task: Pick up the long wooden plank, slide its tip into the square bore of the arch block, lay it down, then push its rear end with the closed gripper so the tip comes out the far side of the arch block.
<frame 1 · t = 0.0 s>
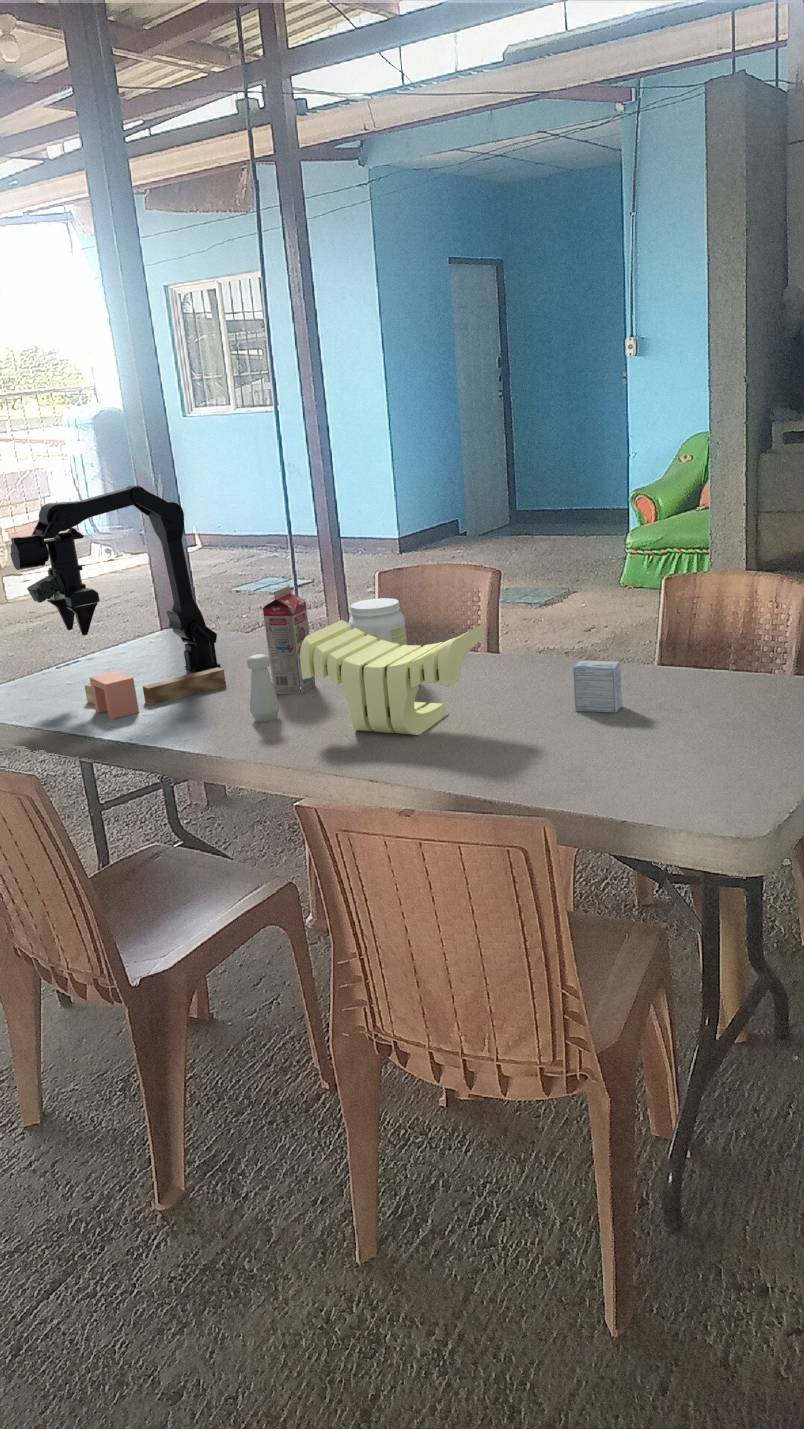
hand: (77, 632, 237), 15 cm above the table, fingers open, 9 cm apart
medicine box: (598, 710, 199), on the table
slatted curved stool: (399, 725, 201), on the table
wooden plank: (186, 695, 236), on the table
salt shaker: (266, 720, 212), on the table
juice carton: (295, 690, 231), on the table
arch block: (117, 711, 227), on the table
supplement tub: (382, 681, 232), on the table
wooden cube: (100, 701, 237), on the table
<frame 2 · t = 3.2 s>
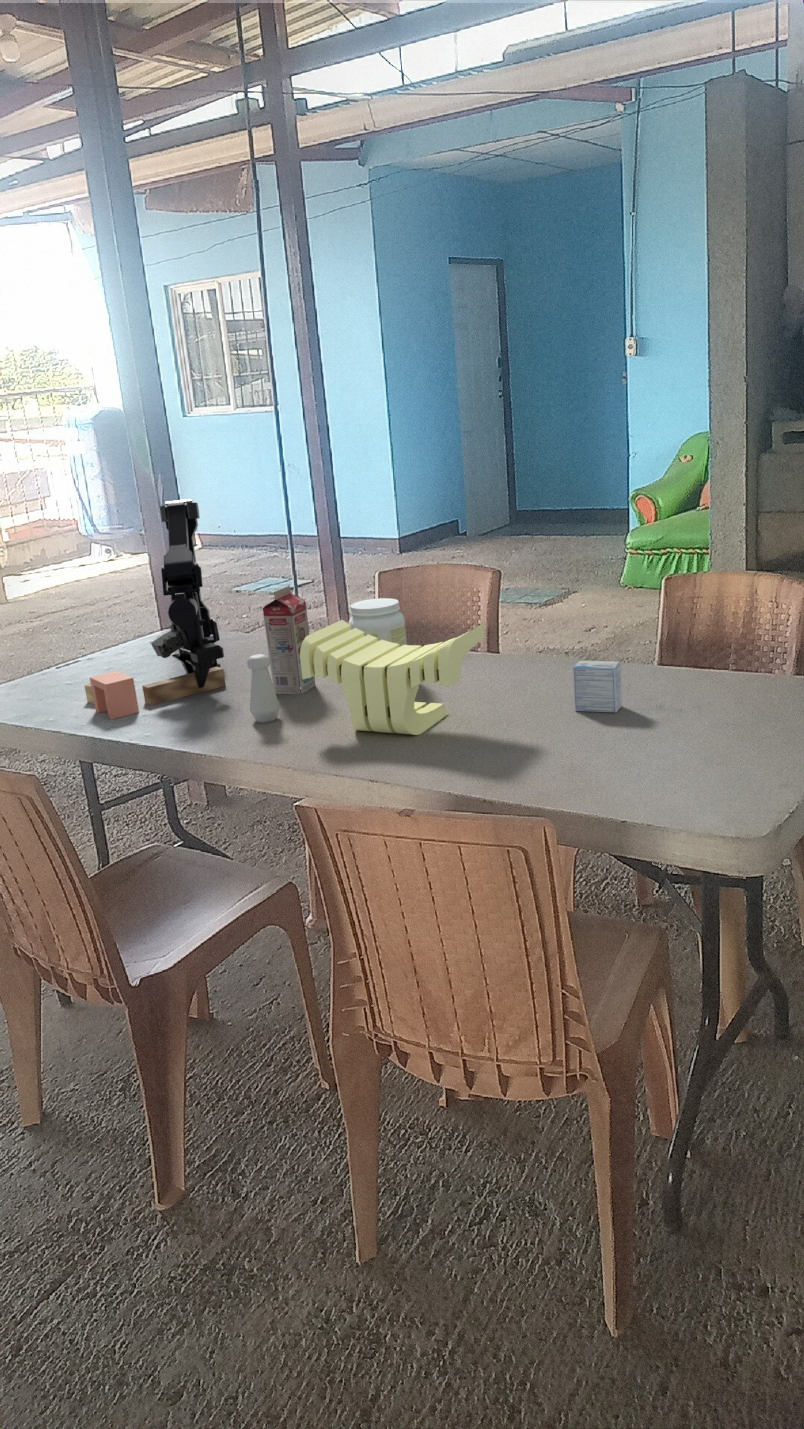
hand: (197, 686, 237), 1 cm above the table, fingers closed on wooden plank, 3 cm apart
wooden plank: (186, 694, 236), on the table, touching gripper
everything else where it was.
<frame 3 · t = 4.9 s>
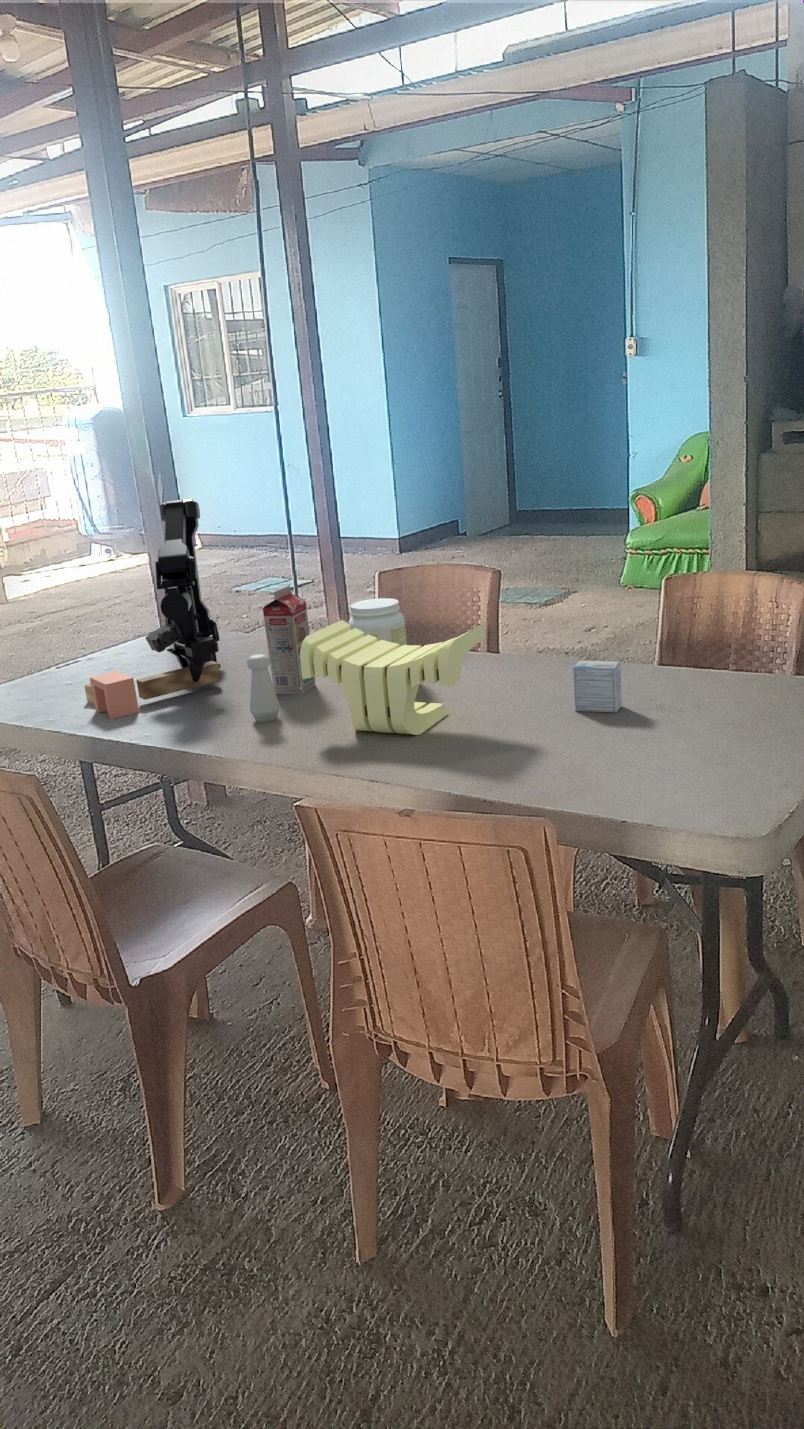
hand: (192, 680, 236), 3 cm above the table, fingers closed on wooden plank, 3 cm apart
wooden plank: (180, 688, 235), point 1 cm above the table, touching gripper
everything else where it was.
when the fingers open (2 cm above the table, at t = 6.7 s): wooden plank drops 2 cm, on the table.
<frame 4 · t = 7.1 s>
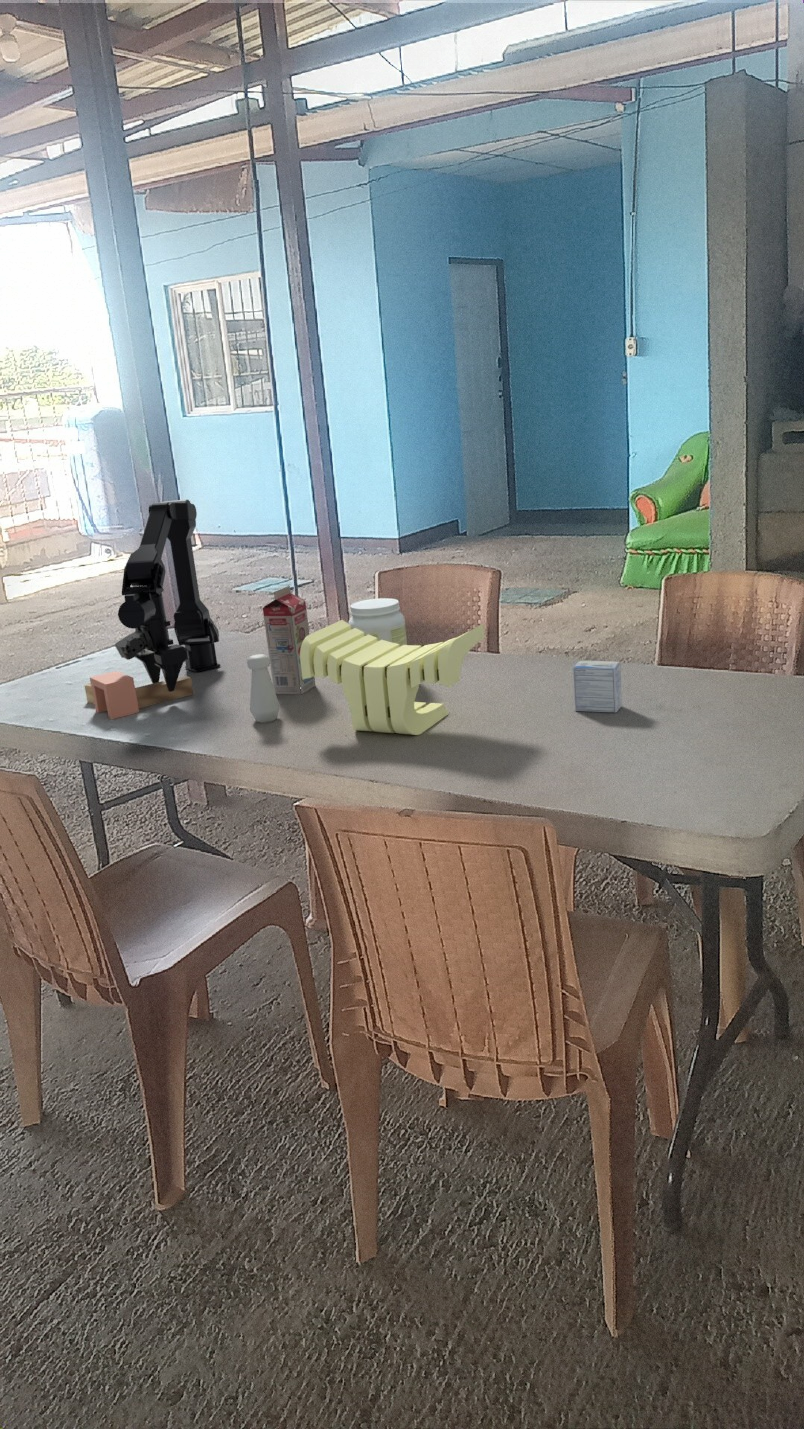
hand: (163, 688, 233), 2 cm above the table, fingers open, 8 cm apart
wooden plank: (152, 703, 232), on the table
everything else where it was.
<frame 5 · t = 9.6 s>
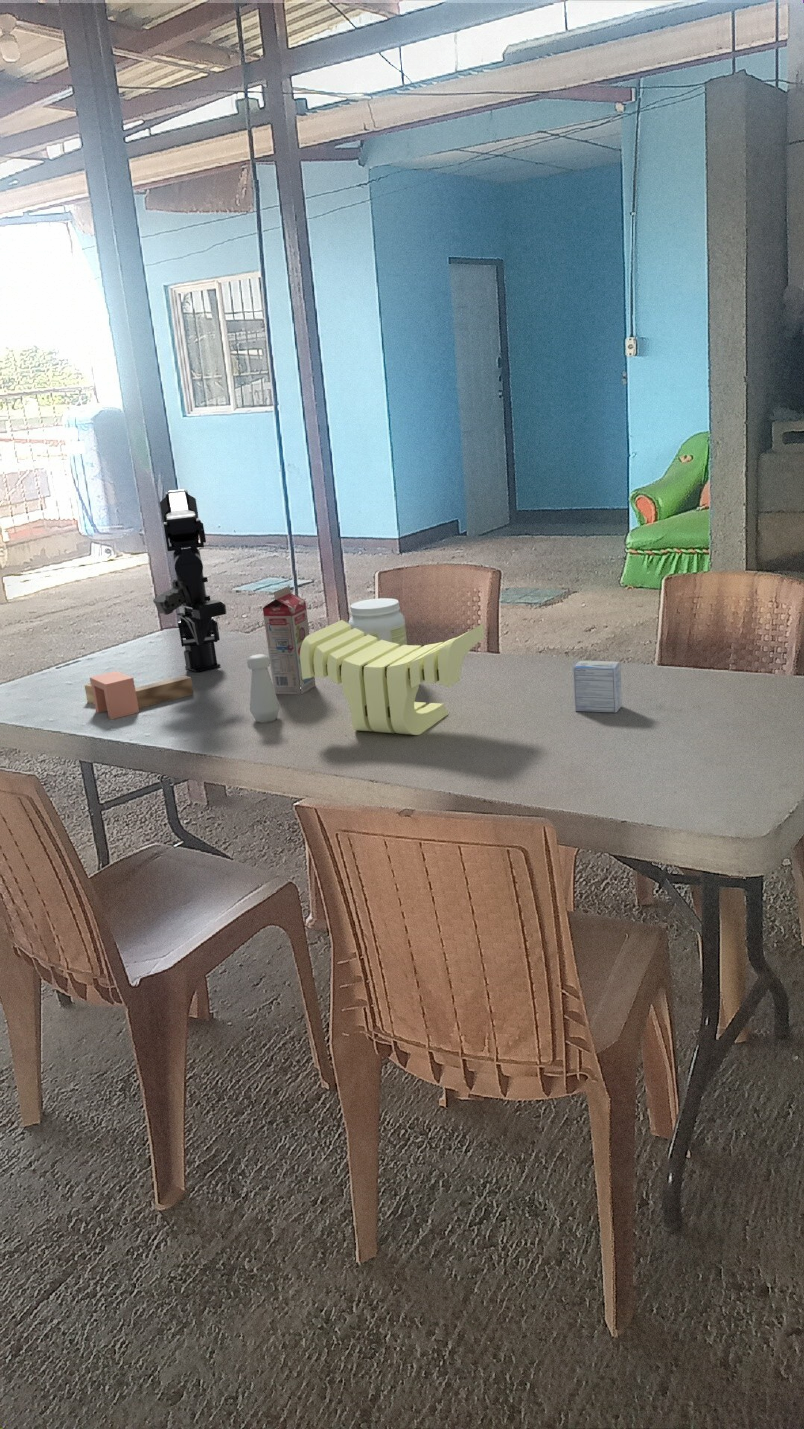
hand: (200, 644, 236), 10 cm above the table, fingers closed
nothing on the table moved.
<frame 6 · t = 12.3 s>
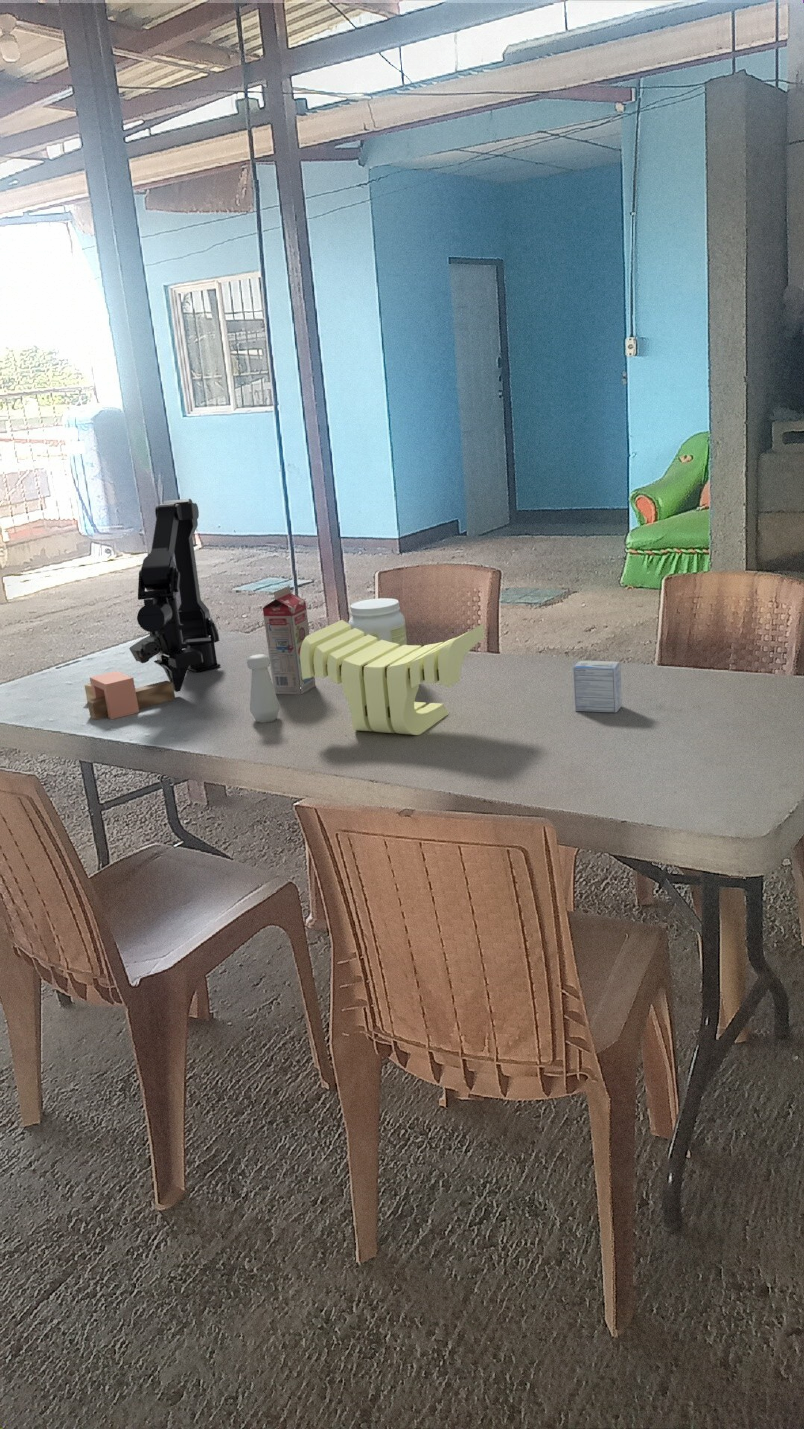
hand: (177, 691, 235), 1 cm above the table, fingers closed
wooden plank: (133, 709, 229), on the table
everything else where it was.
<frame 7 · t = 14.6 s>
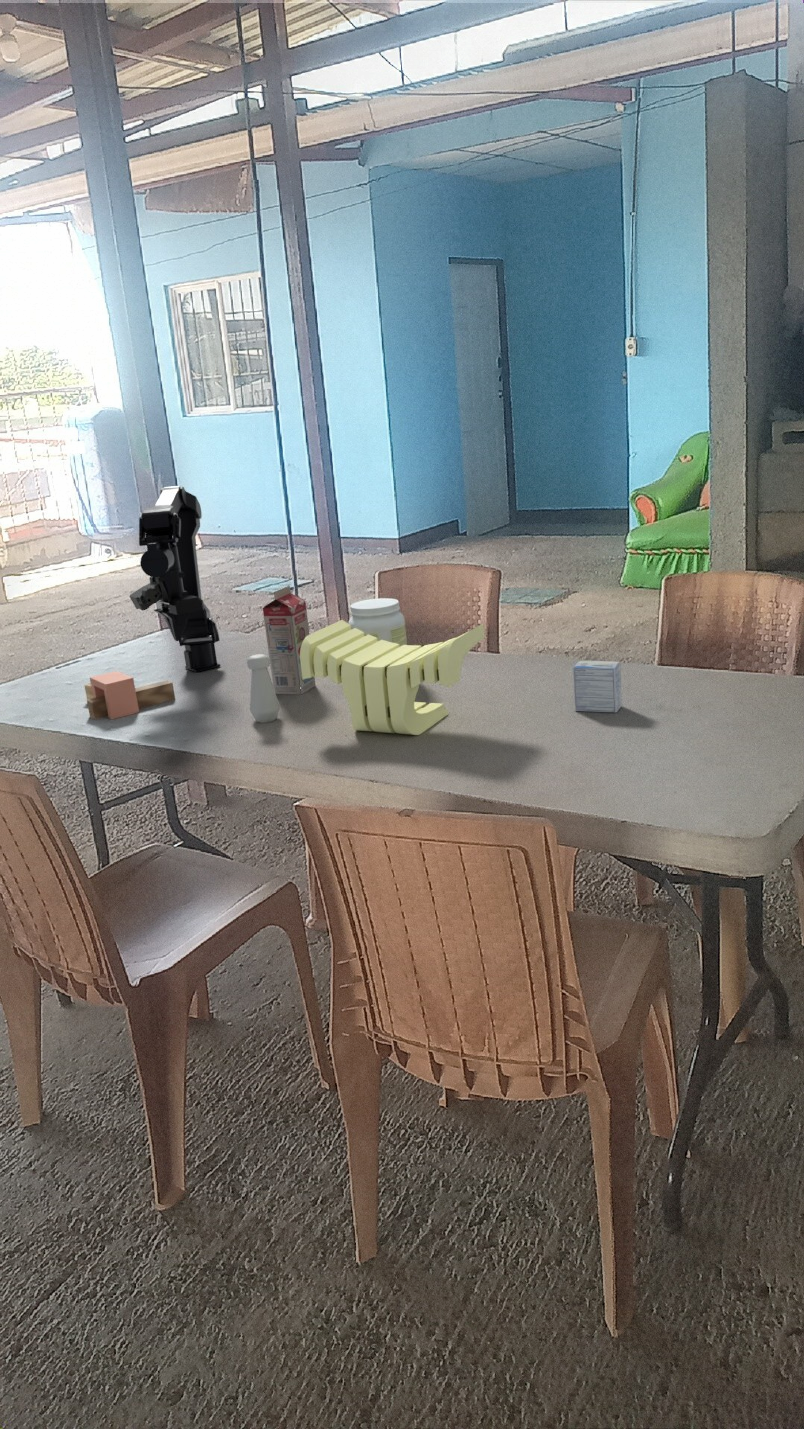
hand: (177, 640, 232), 12 cm above the table, fingers closed
nothing on the table moved.
at the end: wooden plank inside the target area on the arch block (2.1 cm from its centre), point 0.0 cm above the arch block's base; wooden plank moved 12.5 cm from its start; the gripper is holding nothing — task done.
